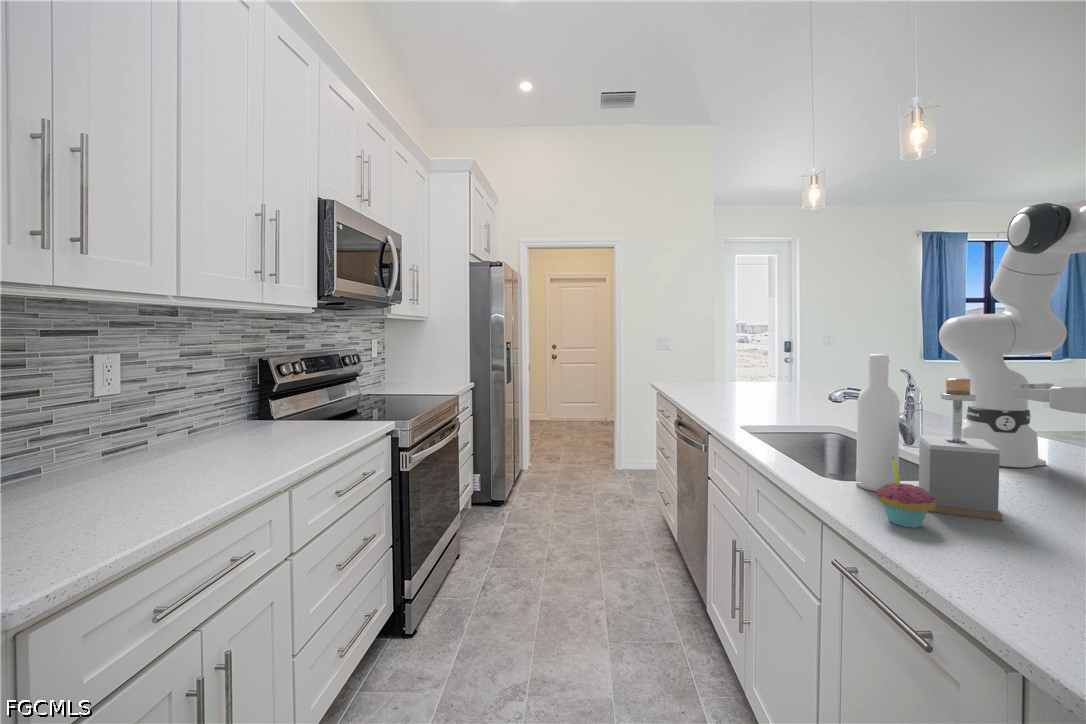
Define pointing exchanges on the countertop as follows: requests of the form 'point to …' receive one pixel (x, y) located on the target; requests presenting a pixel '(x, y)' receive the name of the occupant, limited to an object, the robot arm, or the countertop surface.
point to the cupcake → (905, 502)
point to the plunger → (957, 403)
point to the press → (960, 476)
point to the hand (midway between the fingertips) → (1016, 390)
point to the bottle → (877, 428)
